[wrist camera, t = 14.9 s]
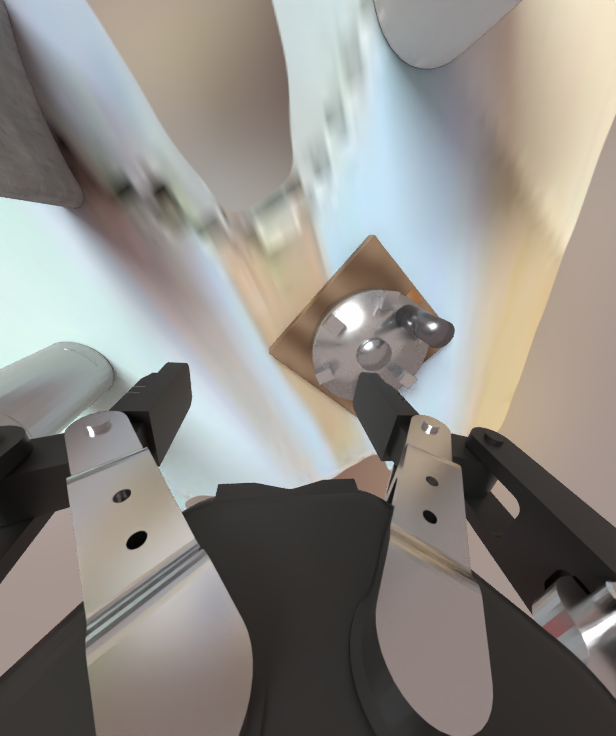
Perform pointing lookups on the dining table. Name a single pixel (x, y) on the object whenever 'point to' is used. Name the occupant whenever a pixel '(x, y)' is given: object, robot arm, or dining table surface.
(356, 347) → the silver round piece
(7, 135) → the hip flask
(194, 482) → the dining table surface
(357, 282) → the brown wooden board
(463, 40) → the utensil holder
